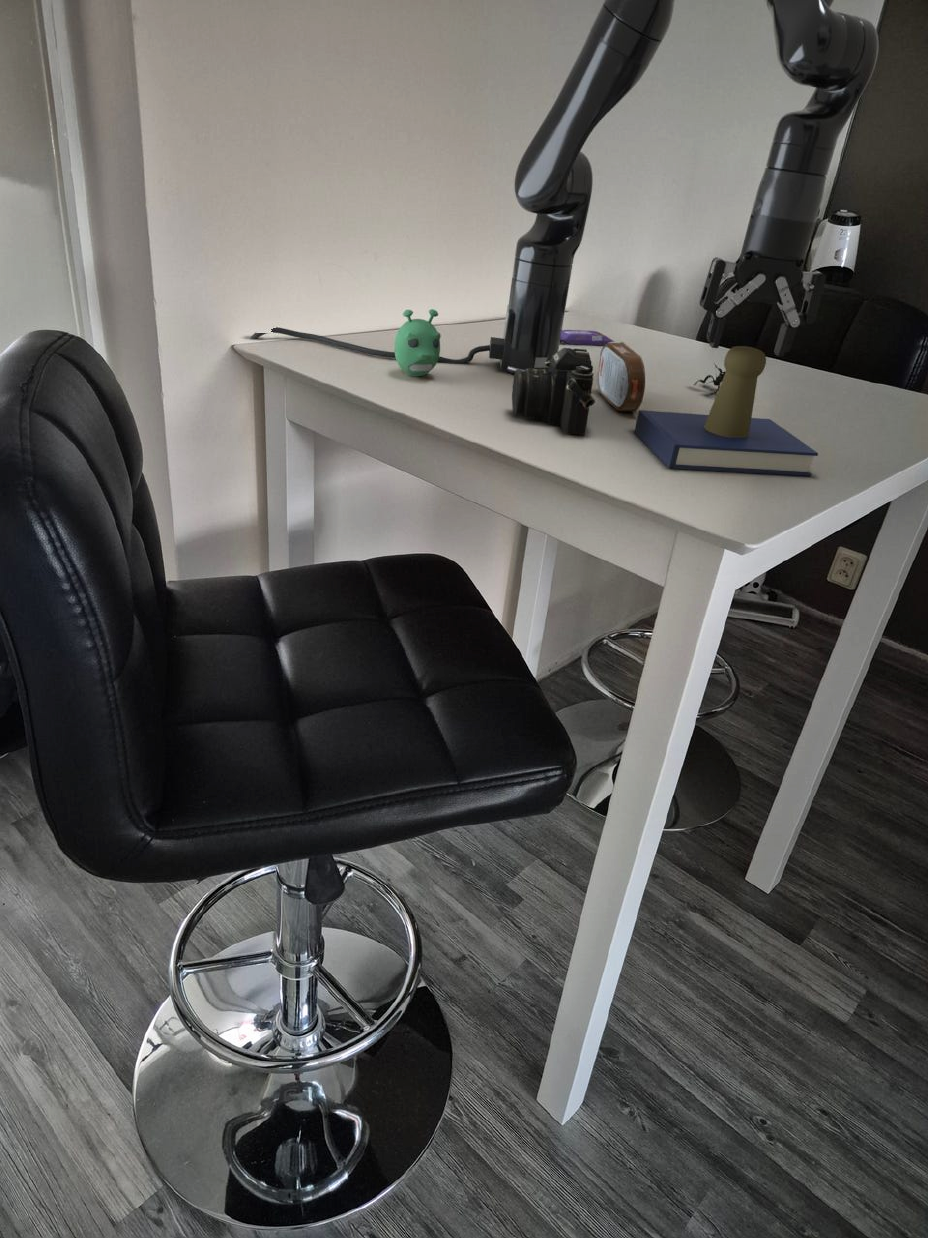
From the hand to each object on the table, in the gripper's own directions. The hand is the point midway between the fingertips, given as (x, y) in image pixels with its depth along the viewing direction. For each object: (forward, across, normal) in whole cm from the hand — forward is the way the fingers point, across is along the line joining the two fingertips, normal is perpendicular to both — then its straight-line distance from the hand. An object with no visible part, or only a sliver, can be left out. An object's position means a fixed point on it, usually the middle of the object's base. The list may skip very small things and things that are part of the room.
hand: (745, 350), depth 113 cm
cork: (+11, 0, 0) cm, 11 cm away
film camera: (+14, +23, -7) cm, 28 cm away
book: (+14, 0, 0) cm, 14 cm away
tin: (+14, +12, -19) cm, 26 cm away
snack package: (+14, +13, -60) cm, 63 cm away
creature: (+14, -7, -33) cm, 37 cm away
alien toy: (+14, +43, -21) cm, 50 cm away
